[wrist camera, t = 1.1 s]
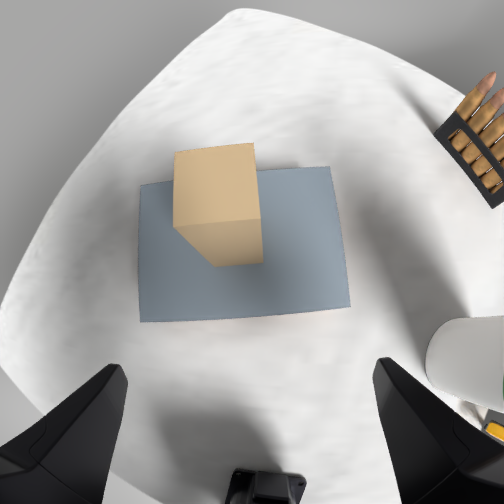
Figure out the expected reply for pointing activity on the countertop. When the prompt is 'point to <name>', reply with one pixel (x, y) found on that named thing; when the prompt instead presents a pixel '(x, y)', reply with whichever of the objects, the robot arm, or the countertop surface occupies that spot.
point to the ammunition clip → (478, 140)
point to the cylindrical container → (469, 360)
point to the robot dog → (495, 429)
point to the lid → (239, 240)
